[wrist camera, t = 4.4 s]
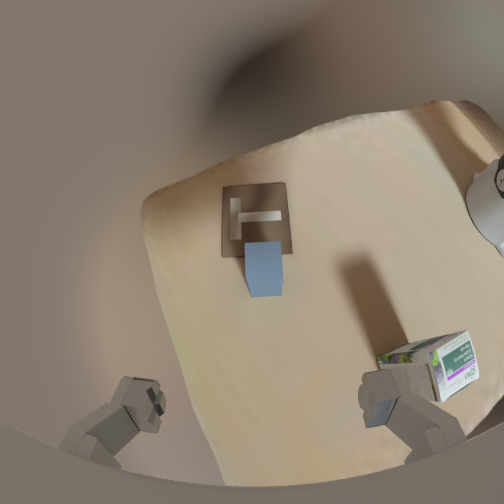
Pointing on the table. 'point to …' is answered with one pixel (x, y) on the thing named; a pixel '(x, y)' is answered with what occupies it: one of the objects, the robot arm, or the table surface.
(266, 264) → the slate block
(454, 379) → the syrup box
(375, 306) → the table surface
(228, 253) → the letter card
